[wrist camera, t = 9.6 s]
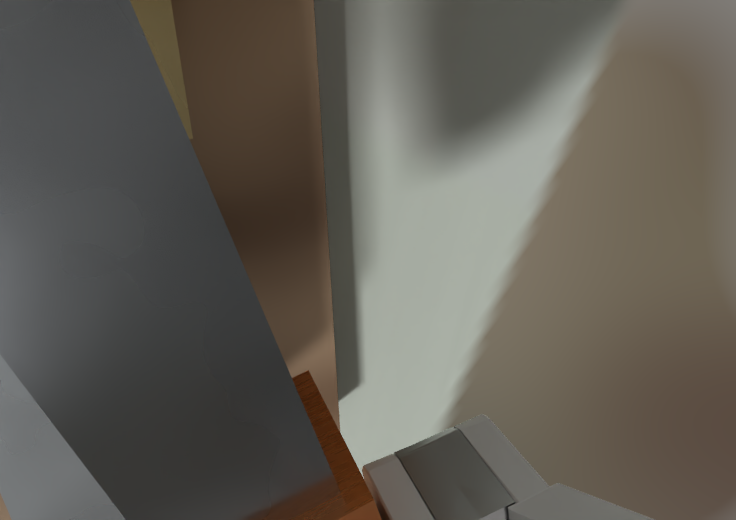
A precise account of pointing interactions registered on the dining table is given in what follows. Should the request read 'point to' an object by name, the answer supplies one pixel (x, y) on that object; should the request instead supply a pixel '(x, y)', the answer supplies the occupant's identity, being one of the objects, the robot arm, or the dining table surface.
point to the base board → (265, 163)
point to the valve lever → (143, 290)
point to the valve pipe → (19, 409)
